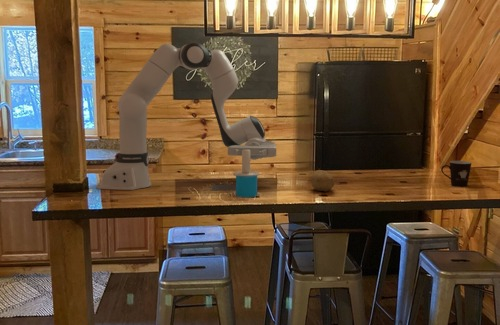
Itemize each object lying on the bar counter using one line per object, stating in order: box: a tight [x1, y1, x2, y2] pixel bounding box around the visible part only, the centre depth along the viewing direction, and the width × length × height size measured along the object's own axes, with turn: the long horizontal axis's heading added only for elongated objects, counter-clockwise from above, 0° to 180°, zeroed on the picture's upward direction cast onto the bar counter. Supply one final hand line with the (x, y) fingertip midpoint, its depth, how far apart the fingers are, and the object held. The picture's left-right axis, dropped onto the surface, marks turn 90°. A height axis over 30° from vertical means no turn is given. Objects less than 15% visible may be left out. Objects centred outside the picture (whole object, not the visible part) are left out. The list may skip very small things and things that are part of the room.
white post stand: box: [232, 149, 260, 177], centre depth 205 cm, size 10×10×10 cm
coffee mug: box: [440, 160, 472, 188], centre depth 226 cm, size 12×9×10 cm
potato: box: [310, 169, 335, 192], centre depth 214 cm, size 10×14×8 cm
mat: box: [211, 184, 236, 192], centre depth 219 cm, size 14×12×1 cm
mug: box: [235, 176, 258, 198], centre depth 206 cm, size 12×8×8 cm
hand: (249, 153), depth 212 cm, fingers open, 8 cm apart
